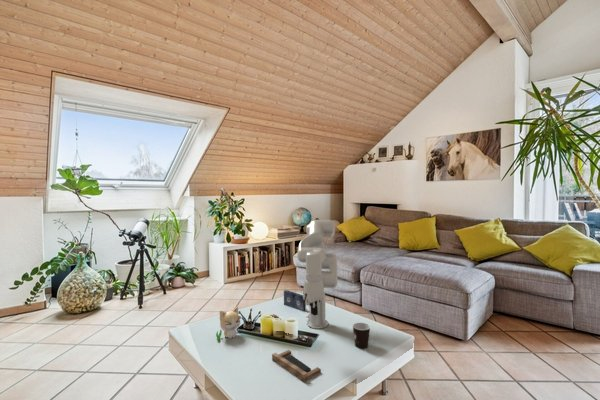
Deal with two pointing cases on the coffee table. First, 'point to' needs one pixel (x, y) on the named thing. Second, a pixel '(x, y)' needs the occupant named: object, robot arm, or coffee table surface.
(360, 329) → the coffee mug
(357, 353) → the coffee table surface
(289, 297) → the vhs cassette tape
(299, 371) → the walnut frame
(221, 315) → the kitten
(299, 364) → the remote control
